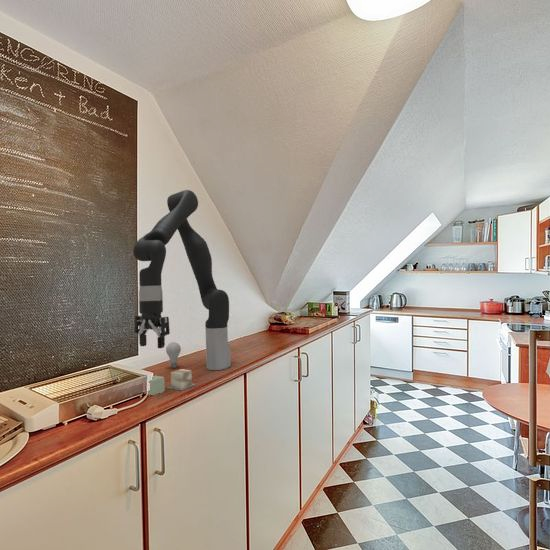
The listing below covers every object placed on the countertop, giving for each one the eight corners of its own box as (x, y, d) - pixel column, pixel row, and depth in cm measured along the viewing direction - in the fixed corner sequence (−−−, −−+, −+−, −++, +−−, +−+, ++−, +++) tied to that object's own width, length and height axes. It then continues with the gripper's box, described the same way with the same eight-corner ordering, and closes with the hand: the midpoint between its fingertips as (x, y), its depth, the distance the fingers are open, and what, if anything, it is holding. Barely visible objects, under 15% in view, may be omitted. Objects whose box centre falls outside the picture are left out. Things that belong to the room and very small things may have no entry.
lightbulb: (175, 365, 155) (175, 340, 155) (184, 367, 152) (183, 341, 152) (163, 368, 151) (162, 342, 151) (172, 370, 147) (171, 344, 147)
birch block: (181, 382, 128) (180, 368, 128) (191, 384, 126) (191, 370, 126) (171, 386, 124) (170, 372, 124) (181, 388, 122) (181, 374, 122)
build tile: (181, 382, 130) (181, 381, 130) (196, 385, 126) (196, 383, 126) (166, 388, 124) (166, 387, 124) (182, 391, 120) (182, 389, 120)
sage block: (154, 389, 123) (153, 375, 123) (164, 391, 120) (164, 377, 120) (142, 394, 118) (142, 379, 118) (153, 396, 116) (152, 381, 116)
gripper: (127, 299, 120) (128, 347, 120) (157, 300, 113) (158, 350, 113) (145, 298, 126) (146, 343, 126) (174, 298, 119) (175, 346, 119)
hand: (152, 346), depth 119 cm, fingers open, 8 cm apart
